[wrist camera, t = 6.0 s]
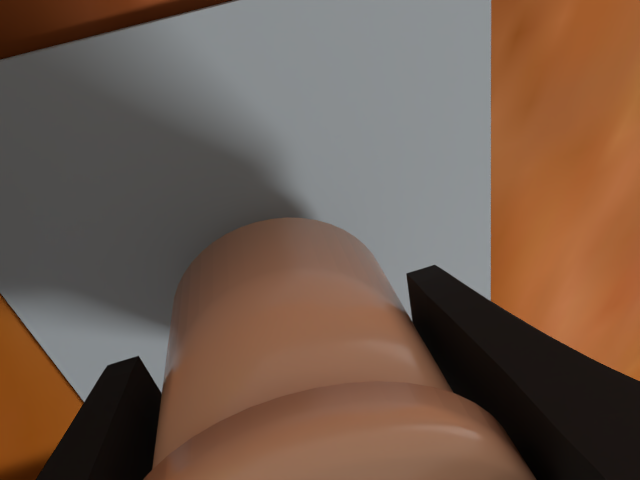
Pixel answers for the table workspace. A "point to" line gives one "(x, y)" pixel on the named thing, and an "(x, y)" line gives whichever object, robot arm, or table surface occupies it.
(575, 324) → the table surface
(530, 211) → the table surface
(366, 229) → the slate mat
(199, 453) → the terracotta pot
